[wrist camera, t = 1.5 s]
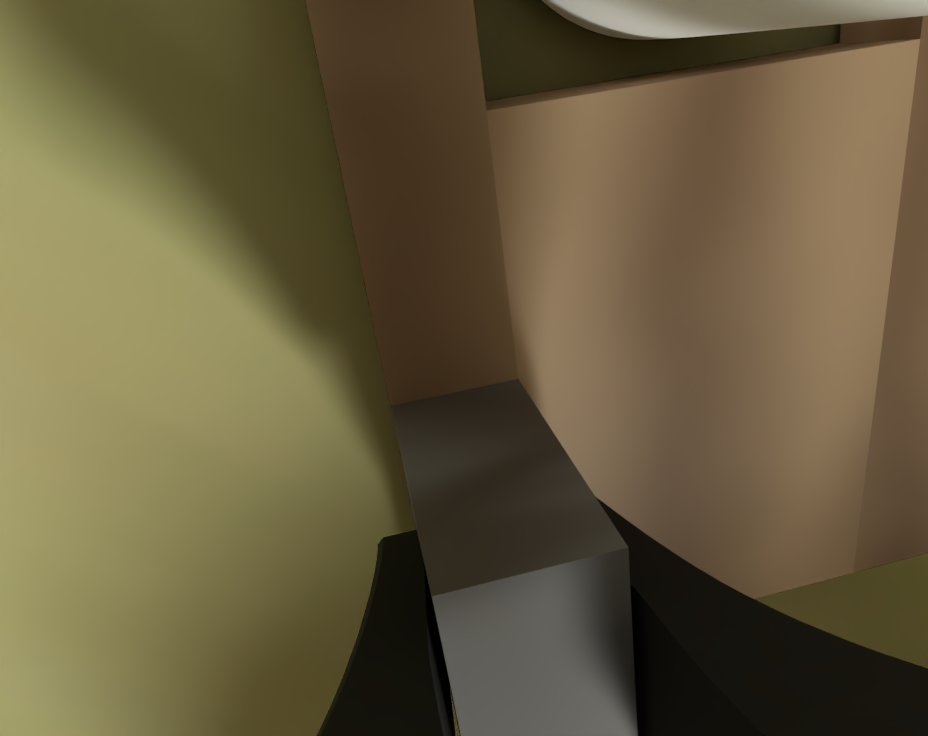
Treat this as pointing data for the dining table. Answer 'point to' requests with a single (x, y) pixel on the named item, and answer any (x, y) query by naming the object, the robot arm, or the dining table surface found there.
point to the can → (723, 15)
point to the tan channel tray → (635, 332)
